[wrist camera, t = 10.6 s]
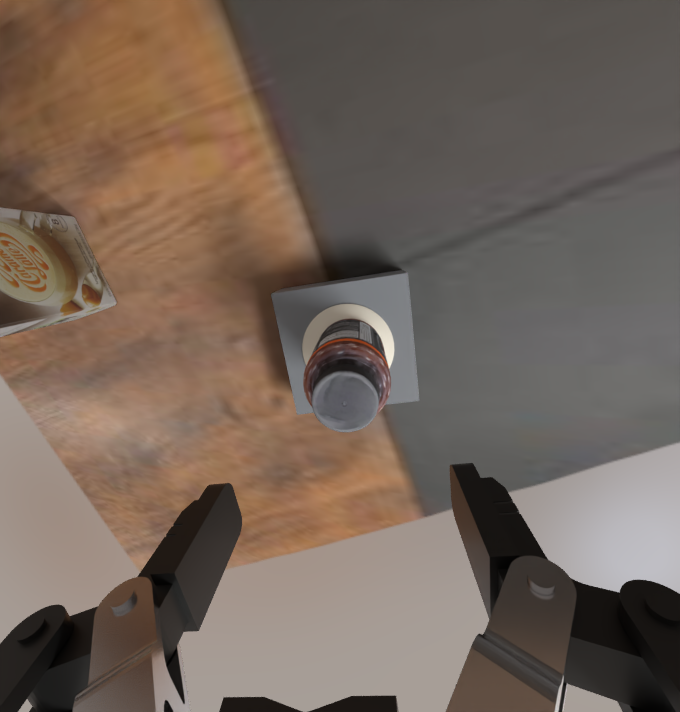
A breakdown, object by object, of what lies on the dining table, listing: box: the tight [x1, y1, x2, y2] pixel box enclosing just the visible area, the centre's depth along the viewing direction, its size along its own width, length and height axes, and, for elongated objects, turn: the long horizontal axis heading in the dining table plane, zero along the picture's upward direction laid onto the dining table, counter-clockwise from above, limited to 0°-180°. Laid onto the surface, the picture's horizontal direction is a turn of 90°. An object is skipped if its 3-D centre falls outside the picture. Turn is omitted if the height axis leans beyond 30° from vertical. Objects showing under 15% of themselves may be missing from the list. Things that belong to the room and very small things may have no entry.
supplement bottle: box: [303, 319, 391, 432], centre depth 24 cm, size 6×6×11 cm
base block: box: [271, 270, 419, 415], centre depth 32 cm, size 12×12×4 cm
